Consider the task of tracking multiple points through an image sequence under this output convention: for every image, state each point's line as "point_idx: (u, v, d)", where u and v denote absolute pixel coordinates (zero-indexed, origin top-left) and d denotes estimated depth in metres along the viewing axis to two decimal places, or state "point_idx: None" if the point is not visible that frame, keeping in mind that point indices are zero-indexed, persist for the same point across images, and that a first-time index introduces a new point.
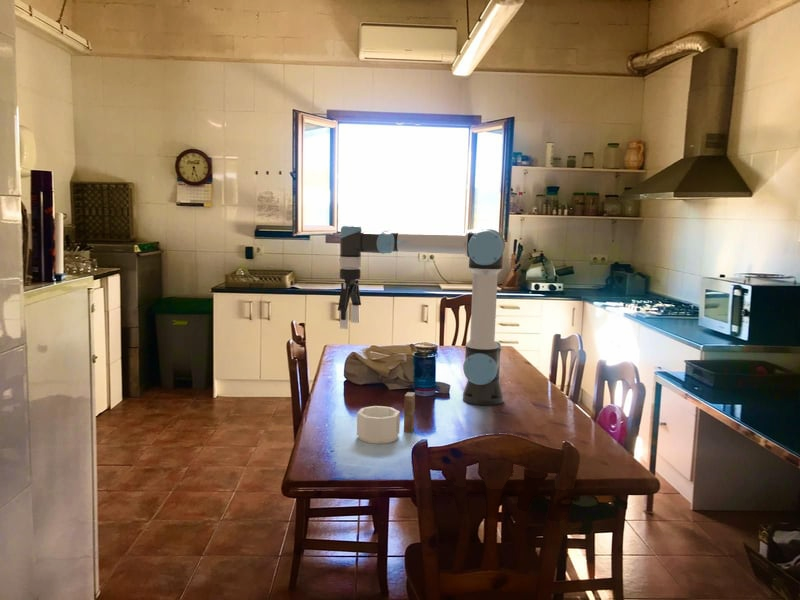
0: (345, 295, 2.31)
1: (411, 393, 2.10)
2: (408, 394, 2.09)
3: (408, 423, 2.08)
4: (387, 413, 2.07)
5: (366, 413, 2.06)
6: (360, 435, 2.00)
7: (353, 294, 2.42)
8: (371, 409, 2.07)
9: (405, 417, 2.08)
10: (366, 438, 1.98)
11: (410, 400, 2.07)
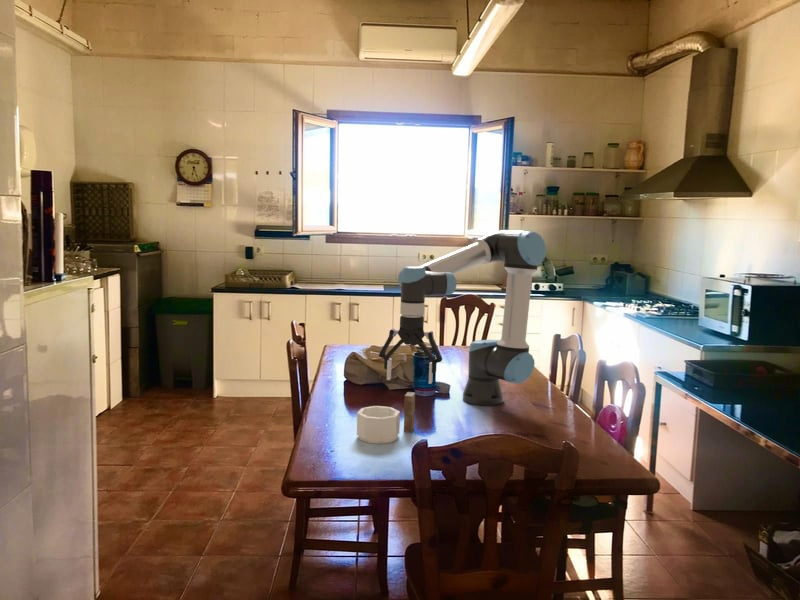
0: (386, 341, 2.07)
1: (411, 393, 2.10)
2: (408, 394, 2.09)
3: (408, 423, 2.08)
4: (387, 413, 2.07)
5: (366, 413, 2.06)
6: (360, 435, 2.00)
7: None
8: (371, 409, 2.07)
9: (405, 417, 2.08)
10: (366, 438, 1.98)
11: (410, 400, 2.07)
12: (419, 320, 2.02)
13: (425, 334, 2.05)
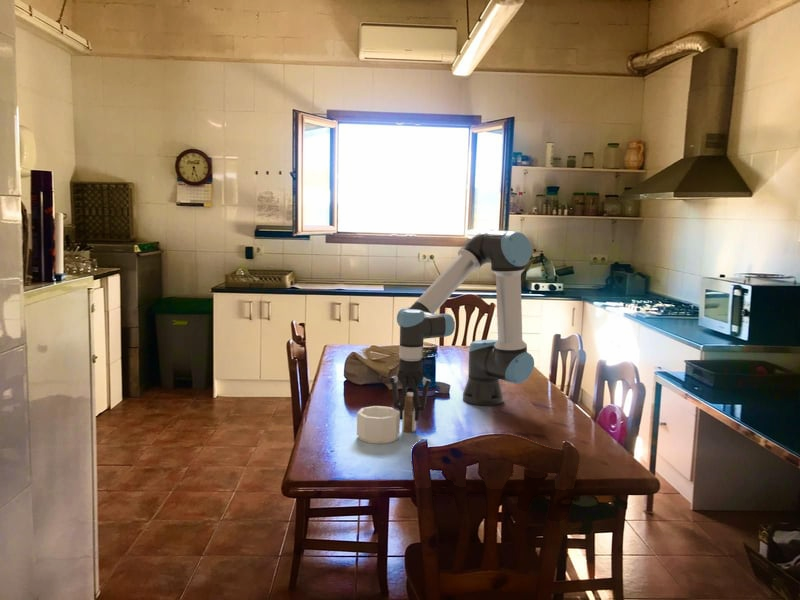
0: None
1: (411, 393, 2.10)
2: (408, 394, 2.09)
3: (408, 423, 2.08)
4: (387, 413, 2.07)
5: (366, 413, 2.06)
6: (360, 435, 2.00)
7: None
8: (371, 409, 2.07)
9: (405, 417, 2.08)
10: (366, 438, 1.98)
11: (410, 400, 2.07)
12: (418, 363, 2.04)
13: (423, 379, 2.07)
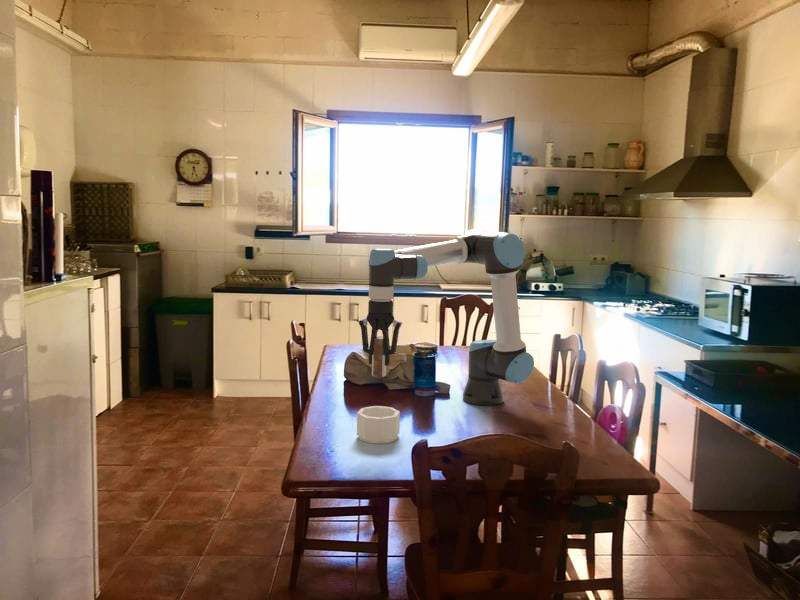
0: None
1: (381, 337, 2.00)
2: (378, 337, 1.99)
3: (378, 367, 1.98)
4: (387, 413, 2.07)
5: (366, 413, 2.06)
6: (360, 435, 2.00)
7: None
8: (371, 409, 2.07)
9: (375, 361, 1.98)
10: (366, 438, 1.98)
11: (380, 343, 1.97)
12: (388, 304, 1.95)
13: (394, 322, 1.97)
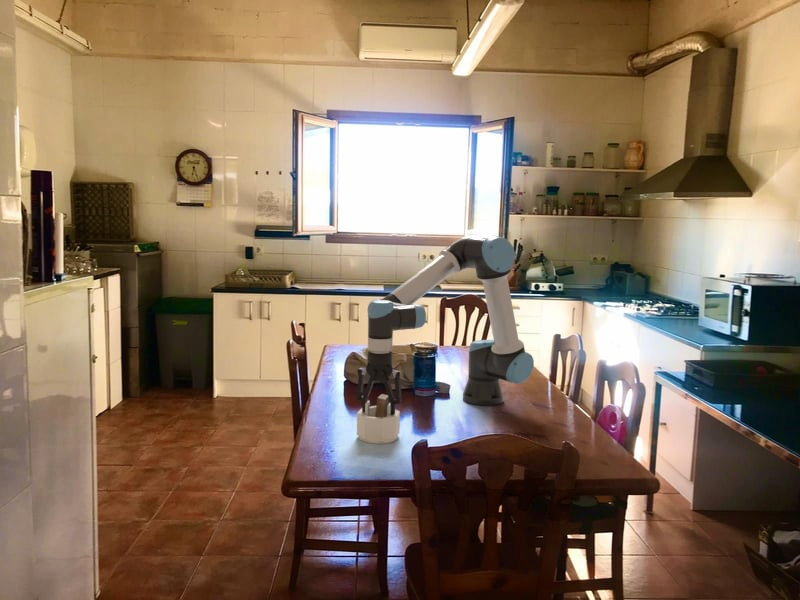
0: None
1: (385, 396, 2.02)
2: (382, 396, 2.01)
3: None
4: (387, 413, 2.07)
5: None
6: (360, 435, 2.00)
7: None
8: (371, 409, 2.07)
9: None
10: (366, 438, 1.98)
11: (382, 403, 1.99)
12: (387, 356, 1.97)
13: (393, 372, 1.99)
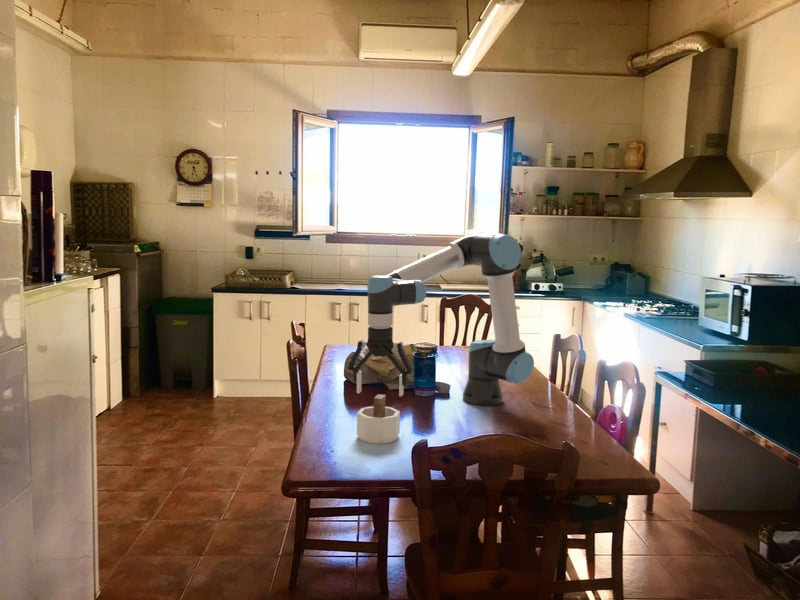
0: None
1: (381, 395, 2.02)
2: (378, 396, 2.02)
3: None
4: (387, 413, 2.07)
5: (366, 413, 2.06)
6: (360, 435, 2.00)
7: None
8: (371, 409, 2.07)
9: None
10: (366, 438, 1.98)
11: (379, 403, 2.00)
12: (387, 331, 1.96)
13: (394, 345, 1.98)
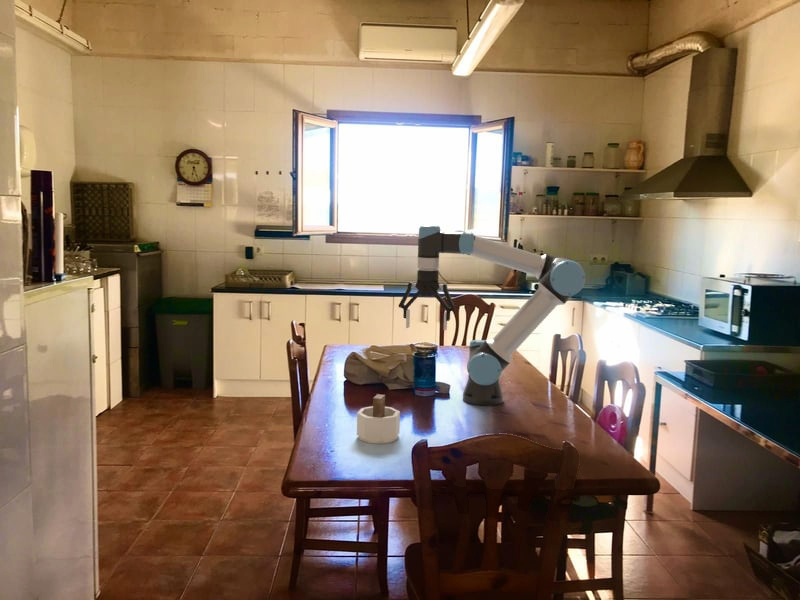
0: (405, 293, 2.32)
1: (380, 395, 2.03)
2: (378, 396, 2.02)
3: None
4: (387, 413, 2.07)
5: (366, 413, 2.06)
6: (360, 435, 2.00)
7: None
8: (371, 409, 2.07)
9: None
10: (366, 438, 1.98)
11: (379, 403, 2.00)
12: (434, 273, 2.27)
13: (440, 286, 2.29)
